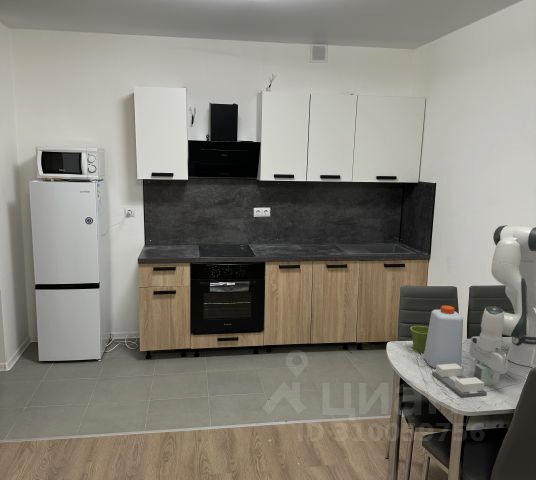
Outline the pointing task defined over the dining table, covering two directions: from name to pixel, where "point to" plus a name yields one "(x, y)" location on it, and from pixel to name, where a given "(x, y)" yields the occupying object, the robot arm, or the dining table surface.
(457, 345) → the plastic bottle
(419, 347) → the plant pot
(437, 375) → the board
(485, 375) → the block
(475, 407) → the dining table surface
